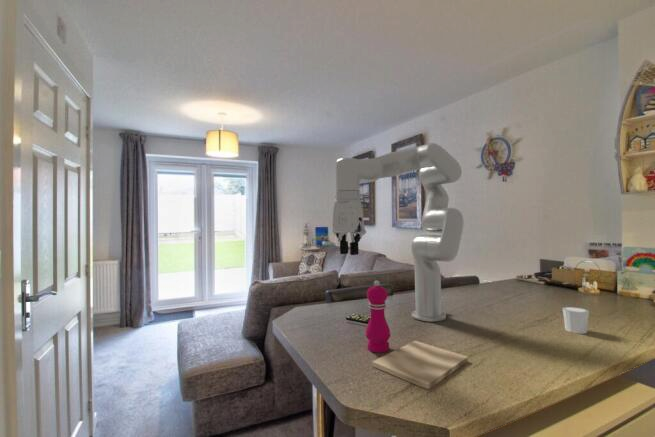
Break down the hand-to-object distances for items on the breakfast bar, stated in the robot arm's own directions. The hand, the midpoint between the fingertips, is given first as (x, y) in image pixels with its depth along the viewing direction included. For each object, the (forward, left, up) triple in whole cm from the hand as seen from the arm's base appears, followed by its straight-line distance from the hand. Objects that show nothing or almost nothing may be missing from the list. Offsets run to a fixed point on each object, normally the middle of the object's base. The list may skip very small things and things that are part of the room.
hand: (349, 253), depth 101 cm
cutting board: (0, +25, -27) cm, 37 cm away
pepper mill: (0, +11, -27) cm, 30 cm away
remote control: (-15, -8, -28) cm, 33 cm away
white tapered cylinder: (-57, +48, -27) cm, 79 cm away
